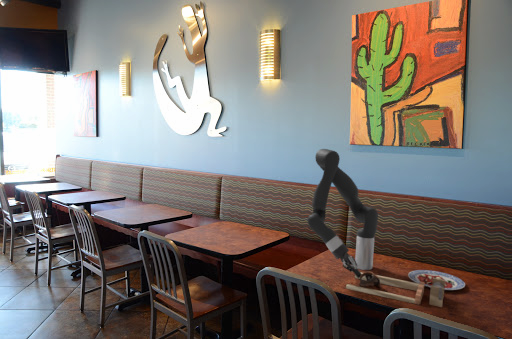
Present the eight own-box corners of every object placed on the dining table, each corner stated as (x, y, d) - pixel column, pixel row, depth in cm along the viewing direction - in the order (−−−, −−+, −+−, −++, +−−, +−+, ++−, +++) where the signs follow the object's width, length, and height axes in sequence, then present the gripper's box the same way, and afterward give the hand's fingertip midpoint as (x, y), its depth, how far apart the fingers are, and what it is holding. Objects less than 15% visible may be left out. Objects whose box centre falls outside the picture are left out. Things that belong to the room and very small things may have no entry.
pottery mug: (384, 292, 184) (378, 278, 181) (365, 299, 185) (359, 285, 183) (378, 276, 195) (372, 263, 193) (360, 283, 197) (354, 270, 194)
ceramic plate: (408, 287, 190) (408, 281, 190) (407, 271, 214) (408, 265, 214) (468, 297, 181) (469, 291, 181) (460, 279, 205) (461, 273, 205)
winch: (431, 294, 182) (433, 275, 181) (443, 297, 180) (445, 277, 179) (428, 306, 169) (430, 286, 168) (441, 309, 166) (443, 288, 165)
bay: (355, 276, 201) (356, 269, 201) (423, 290, 186) (424, 282, 186) (346, 288, 185) (346, 280, 185) (419, 304, 170) (420, 295, 170)
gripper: (338, 245, 188) (363, 276, 183) (346, 239, 200) (369, 268, 195) (327, 254, 191) (350, 285, 186) (335, 248, 203) (357, 276, 198)
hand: (360, 276), depth 191 cm, fingers closed
